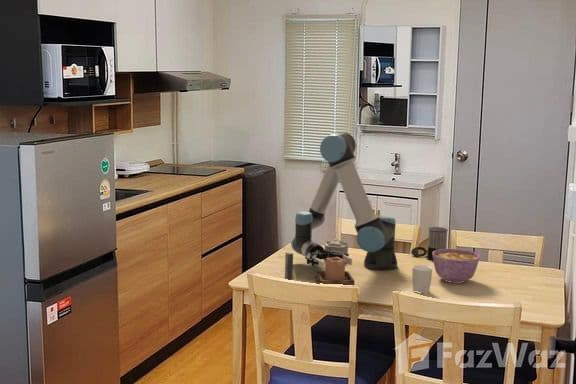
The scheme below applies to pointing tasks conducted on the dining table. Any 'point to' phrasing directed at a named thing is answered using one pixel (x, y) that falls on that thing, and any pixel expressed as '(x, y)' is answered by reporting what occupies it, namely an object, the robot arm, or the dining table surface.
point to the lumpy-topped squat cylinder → (336, 246)
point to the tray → (321, 279)
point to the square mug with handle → (335, 269)
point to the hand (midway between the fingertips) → (337, 263)
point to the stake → (289, 265)
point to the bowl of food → (455, 264)
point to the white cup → (421, 278)
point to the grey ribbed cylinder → (433, 242)
